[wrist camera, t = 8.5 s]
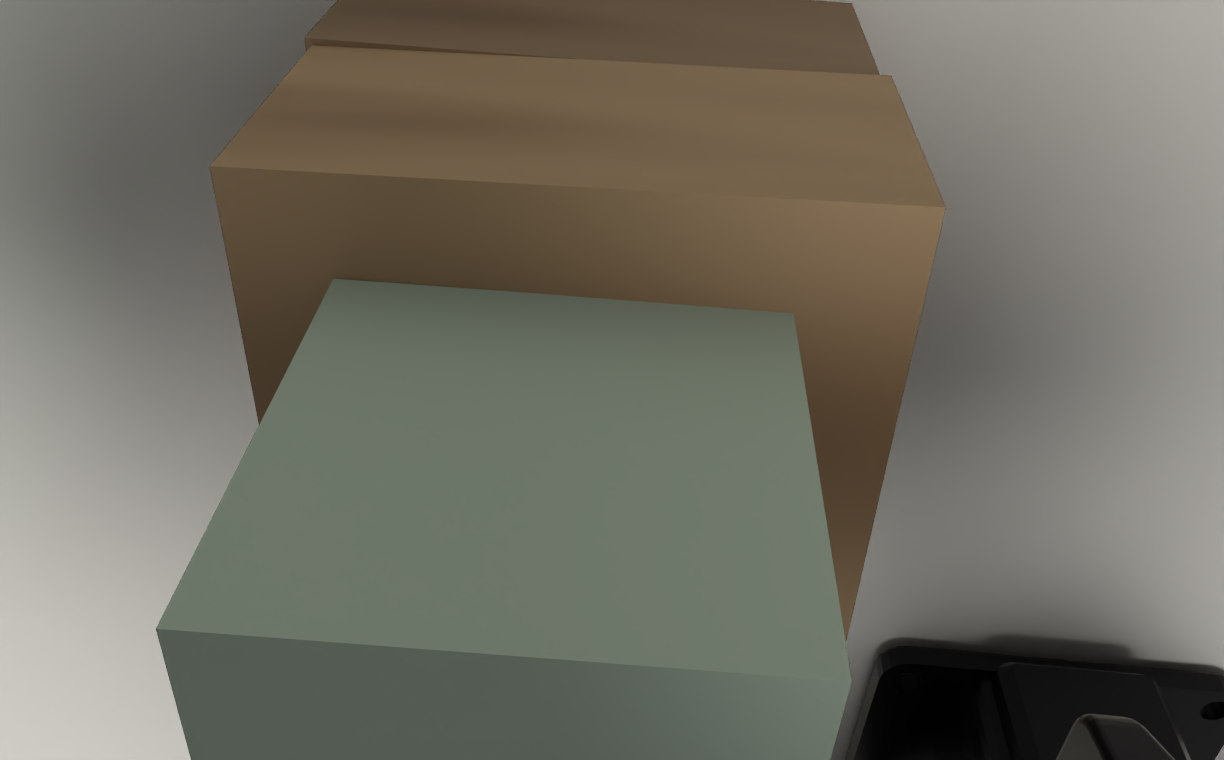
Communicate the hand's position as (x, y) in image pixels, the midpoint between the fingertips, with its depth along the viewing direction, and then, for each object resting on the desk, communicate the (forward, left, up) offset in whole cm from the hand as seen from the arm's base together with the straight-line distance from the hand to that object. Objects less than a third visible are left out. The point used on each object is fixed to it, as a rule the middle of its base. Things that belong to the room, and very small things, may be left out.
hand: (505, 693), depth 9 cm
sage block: (0, 0, -2) cm, 3 cm away
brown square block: (0, 0, -6) cm, 6 cm away
